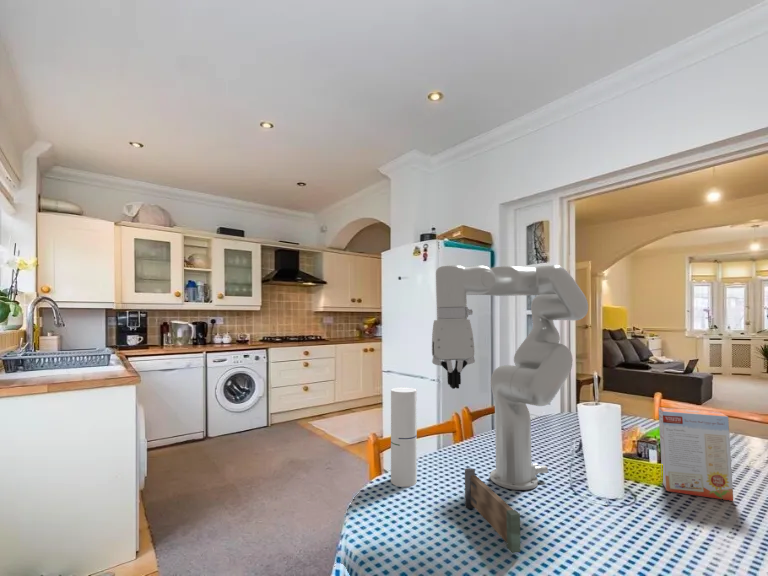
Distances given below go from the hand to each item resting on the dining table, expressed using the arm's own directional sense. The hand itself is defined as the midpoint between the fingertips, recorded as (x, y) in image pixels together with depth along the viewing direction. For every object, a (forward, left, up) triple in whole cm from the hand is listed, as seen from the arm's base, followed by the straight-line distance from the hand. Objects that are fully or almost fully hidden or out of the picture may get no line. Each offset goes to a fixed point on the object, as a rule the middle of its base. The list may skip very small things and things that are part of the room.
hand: (454, 387), depth 100 cm
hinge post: (-3, +3, -28) cm, 28 cm away
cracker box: (-64, +8, -28) cm, 70 cm away
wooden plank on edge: (-3, +14, -27) cm, 31 cm away
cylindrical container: (+9, -14, -28) cm, 33 cm away
